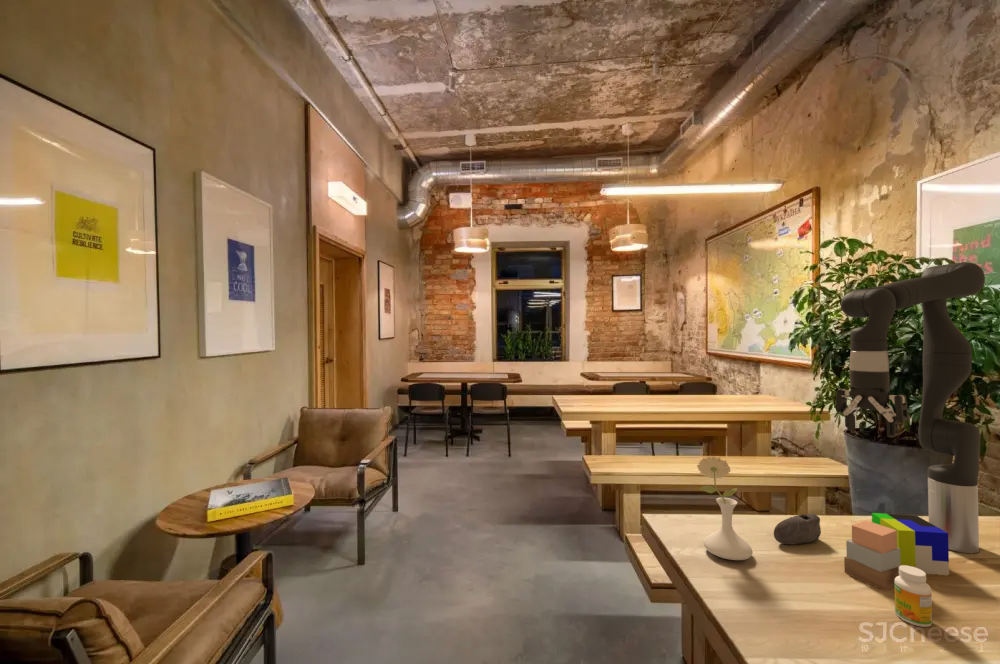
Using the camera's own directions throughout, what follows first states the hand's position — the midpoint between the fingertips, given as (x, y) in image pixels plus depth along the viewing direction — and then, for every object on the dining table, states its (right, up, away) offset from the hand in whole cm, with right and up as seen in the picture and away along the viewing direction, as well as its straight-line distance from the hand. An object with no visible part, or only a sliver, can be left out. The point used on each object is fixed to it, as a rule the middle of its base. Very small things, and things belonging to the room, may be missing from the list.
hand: (870, 433), depth 108 cm
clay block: (-5, -24, -7) cm, 26 cm away
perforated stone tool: (-11, -33, +10) cm, 36 cm away
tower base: (-5, -32, -7) cm, 34 cm away
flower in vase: (-34, -33, +5) cm, 48 cm away
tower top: (-6, -28, -7) cm, 30 cm away
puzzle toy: (+9, -32, -1) cm, 33 cm away
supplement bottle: (-10, -32, -22) cm, 40 cm away
